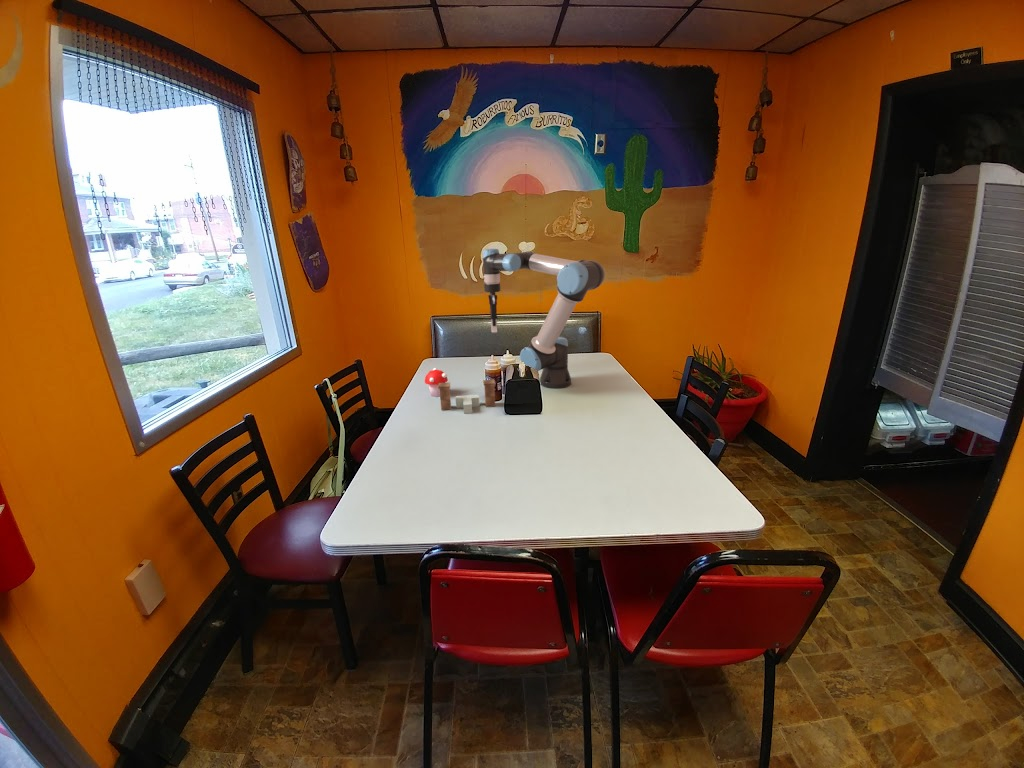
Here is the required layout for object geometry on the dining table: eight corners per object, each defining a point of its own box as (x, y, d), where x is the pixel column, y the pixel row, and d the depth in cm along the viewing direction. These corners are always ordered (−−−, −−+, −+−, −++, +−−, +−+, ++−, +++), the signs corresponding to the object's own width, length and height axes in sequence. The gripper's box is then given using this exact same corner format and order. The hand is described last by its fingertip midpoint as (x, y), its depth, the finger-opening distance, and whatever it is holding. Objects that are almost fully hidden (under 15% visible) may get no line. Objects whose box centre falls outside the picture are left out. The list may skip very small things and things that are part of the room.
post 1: (451, 405, 194) (450, 382, 190) (451, 409, 189) (449, 386, 186) (440, 406, 194) (438, 383, 190) (440, 410, 189) (438, 386, 185)
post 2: (495, 402, 196) (494, 379, 192) (496, 406, 191) (495, 383, 188) (484, 403, 195) (483, 380, 192) (485, 407, 191) (483, 383, 187)
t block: (479, 403, 196) (478, 394, 195) (480, 412, 186) (479, 403, 185) (456, 404, 195) (455, 396, 194) (456, 414, 185) (455, 405, 184)
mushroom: (447, 398, 203) (445, 373, 199) (423, 398, 203) (420, 373, 199) (450, 390, 213) (448, 366, 209) (428, 390, 213) (425, 366, 209)
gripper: (483, 281, 215) (485, 329, 223) (484, 285, 203) (487, 335, 211) (498, 281, 216) (500, 328, 224) (501, 284, 204) (503, 334, 212)
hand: (494, 332), depth 218 cm, fingers closed
